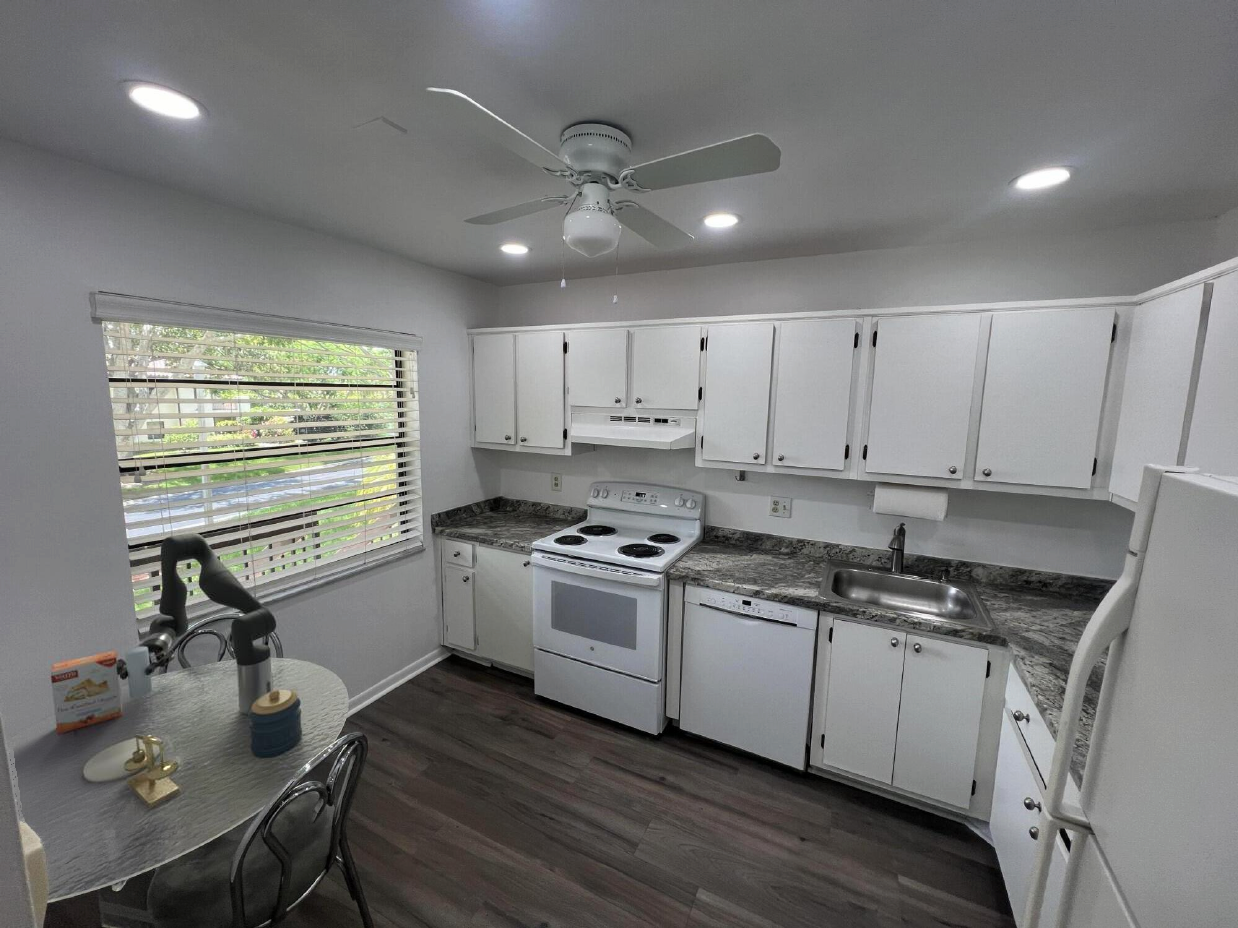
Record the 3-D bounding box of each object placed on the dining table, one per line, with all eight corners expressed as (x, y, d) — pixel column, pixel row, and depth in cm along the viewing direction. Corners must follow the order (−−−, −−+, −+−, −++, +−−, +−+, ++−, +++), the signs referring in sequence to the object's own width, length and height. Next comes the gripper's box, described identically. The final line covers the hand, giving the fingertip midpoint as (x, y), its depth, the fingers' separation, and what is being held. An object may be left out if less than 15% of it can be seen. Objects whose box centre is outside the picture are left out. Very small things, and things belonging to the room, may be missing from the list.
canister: (312, 733, 155) (310, 682, 153) (275, 763, 143) (272, 707, 140) (278, 725, 158) (276, 675, 155) (239, 753, 145) (235, 699, 143)
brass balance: (185, 797, 130) (180, 739, 127) (155, 814, 124) (149, 753, 122) (150, 765, 140) (145, 710, 137) (121, 779, 134) (115, 722, 132)
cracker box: (57, 735, 149) (49, 671, 146) (59, 725, 153) (52, 663, 150) (122, 716, 159) (116, 656, 156) (123, 707, 163) (117, 648, 160)
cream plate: (170, 734, 152) (169, 730, 151) (152, 770, 138) (152, 765, 138) (98, 751, 144) (97, 746, 144) (72, 790, 130) (71, 785, 130)
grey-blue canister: (154, 686, 156) (150, 645, 154) (149, 694, 152) (144, 652, 150) (133, 690, 154) (128, 648, 152) (127, 699, 150) (122, 656, 148)
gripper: (123, 642, 160) (101, 668, 145) (181, 633, 167) (165, 657, 152) (126, 663, 161) (104, 691, 147) (183, 654, 168) (167, 680, 154)
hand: (135, 674), depth 150 cm, fingers closed on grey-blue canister, 5 cm apart
